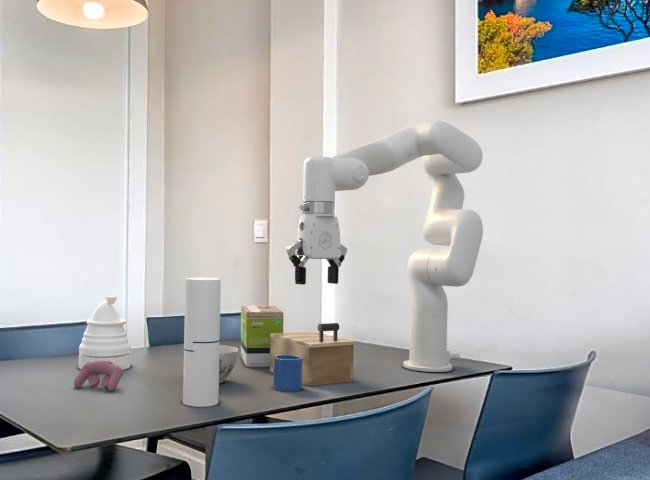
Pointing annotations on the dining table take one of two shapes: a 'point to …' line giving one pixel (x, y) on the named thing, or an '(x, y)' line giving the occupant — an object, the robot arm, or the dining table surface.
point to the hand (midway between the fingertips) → (316, 283)
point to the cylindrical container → (201, 341)
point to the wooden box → (317, 361)
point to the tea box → (258, 333)
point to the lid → (315, 337)
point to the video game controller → (96, 368)
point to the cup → (287, 373)
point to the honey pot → (105, 337)
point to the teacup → (226, 361)
